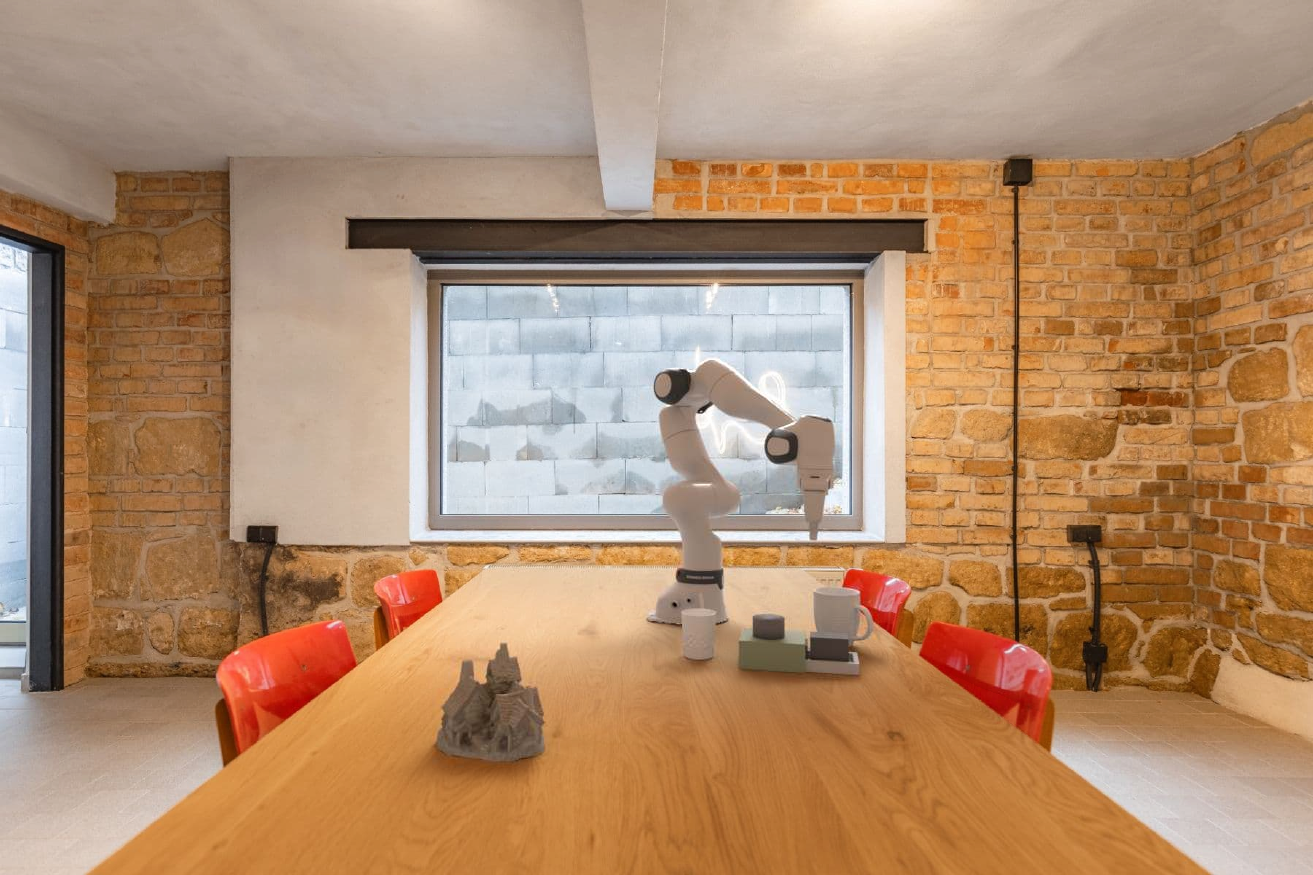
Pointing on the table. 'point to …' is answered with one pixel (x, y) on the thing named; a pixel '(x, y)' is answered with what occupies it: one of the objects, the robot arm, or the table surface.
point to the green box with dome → (784, 650)
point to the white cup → (698, 633)
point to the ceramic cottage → (492, 714)
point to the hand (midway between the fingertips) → (813, 537)
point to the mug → (840, 612)
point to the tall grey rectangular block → (829, 646)
